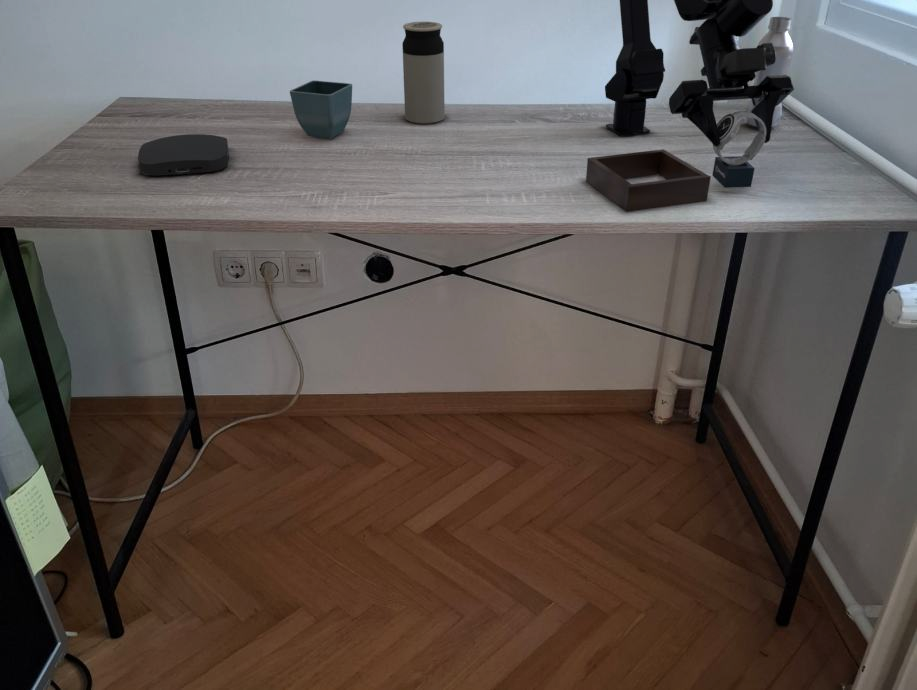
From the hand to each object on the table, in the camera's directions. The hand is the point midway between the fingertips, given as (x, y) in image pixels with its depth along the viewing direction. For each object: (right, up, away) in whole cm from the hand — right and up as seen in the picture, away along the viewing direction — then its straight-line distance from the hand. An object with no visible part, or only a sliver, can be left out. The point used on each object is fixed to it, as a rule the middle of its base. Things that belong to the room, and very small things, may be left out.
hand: (742, 143), depth 129 cm
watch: (0, -5, +5) cm, 7 cm away
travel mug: (-51, +14, +39) cm, 65 cm away
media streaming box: (-92, +1, +16) cm, 93 cm away
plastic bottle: (+15, +11, +34) cm, 39 cm away
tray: (-14, -7, +4) cm, 16 cm away
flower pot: (-70, +9, +30) cm, 76 cm away
